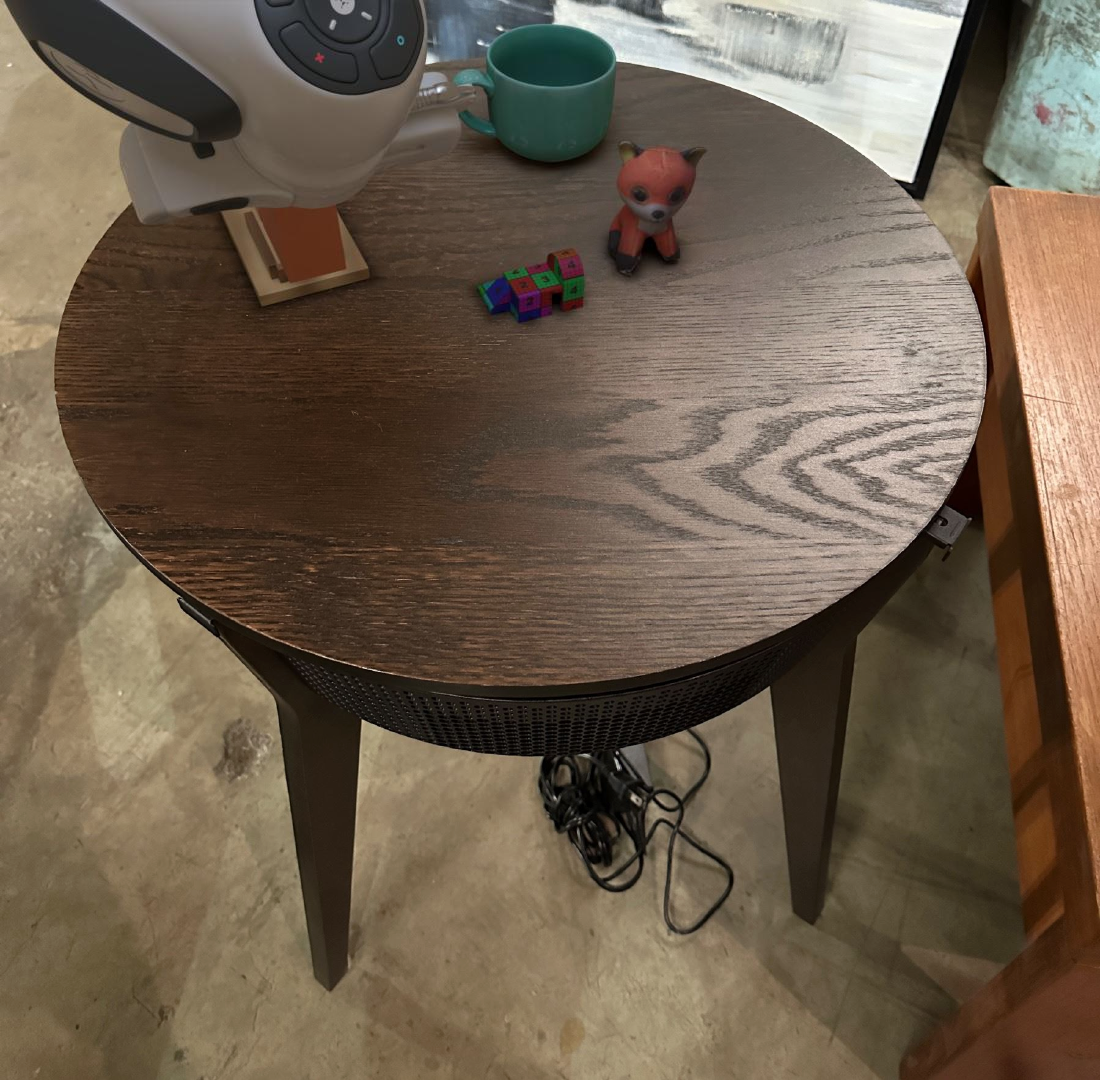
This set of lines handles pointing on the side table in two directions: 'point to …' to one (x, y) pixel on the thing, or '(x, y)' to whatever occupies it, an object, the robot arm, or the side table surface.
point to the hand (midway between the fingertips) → (288, 181)
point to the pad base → (267, 266)
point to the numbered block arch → (537, 287)
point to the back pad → (305, 240)
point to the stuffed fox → (650, 200)
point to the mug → (545, 91)
